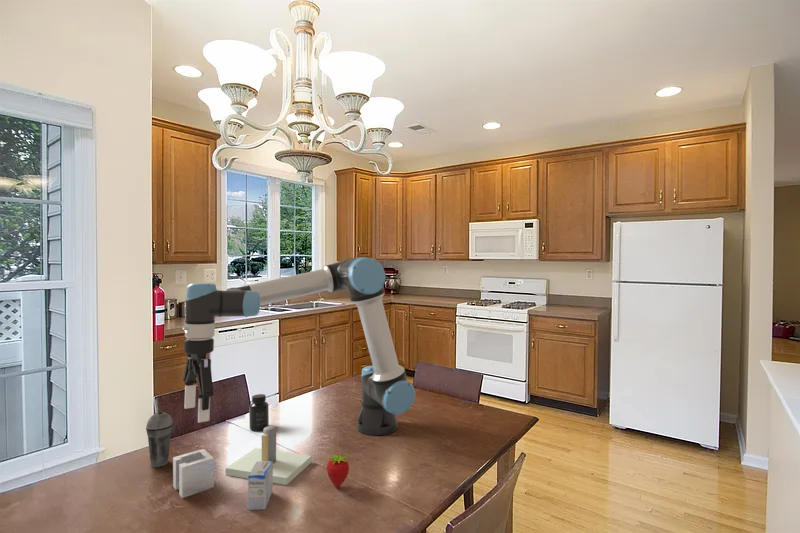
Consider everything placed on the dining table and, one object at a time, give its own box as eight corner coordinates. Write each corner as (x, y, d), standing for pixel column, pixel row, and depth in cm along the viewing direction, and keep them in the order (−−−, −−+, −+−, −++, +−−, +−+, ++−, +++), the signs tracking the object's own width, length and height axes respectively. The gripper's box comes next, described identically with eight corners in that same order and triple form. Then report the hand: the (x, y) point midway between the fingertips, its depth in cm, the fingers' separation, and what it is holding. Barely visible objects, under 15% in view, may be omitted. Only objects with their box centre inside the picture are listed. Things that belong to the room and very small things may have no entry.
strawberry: (343, 478, 120) (343, 443, 120) (352, 491, 113) (352, 454, 113) (323, 483, 117) (323, 447, 117) (331, 496, 110) (331, 458, 110)
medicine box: (255, 493, 112) (255, 461, 112) (273, 492, 112) (272, 460, 112) (247, 510, 104) (247, 475, 104) (266, 509, 104) (266, 475, 104)
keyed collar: (173, 486, 115) (173, 457, 115) (203, 476, 121) (203, 448, 121) (182, 498, 110) (182, 467, 110) (213, 487, 115) (213, 457, 115)
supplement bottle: (271, 425, 160) (271, 393, 160) (264, 432, 153) (264, 399, 153) (254, 424, 161) (254, 392, 160) (246, 431, 154) (245, 398, 154)
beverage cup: (178, 460, 131) (178, 396, 131) (158, 471, 124) (158, 403, 124) (160, 456, 133) (160, 393, 133) (139, 467, 126) (139, 400, 126)
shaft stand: (225, 474, 122) (225, 433, 122) (255, 454, 135) (255, 416, 135) (286, 485, 116) (286, 441, 116) (311, 462, 129) (311, 423, 129)
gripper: (173, 333, 125) (170, 405, 125) (197, 346, 106) (194, 430, 106) (200, 331, 130) (197, 400, 130) (228, 343, 111) (225, 424, 111)
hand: (196, 414), depth 118 cm, fingers open, 13 cm apart
